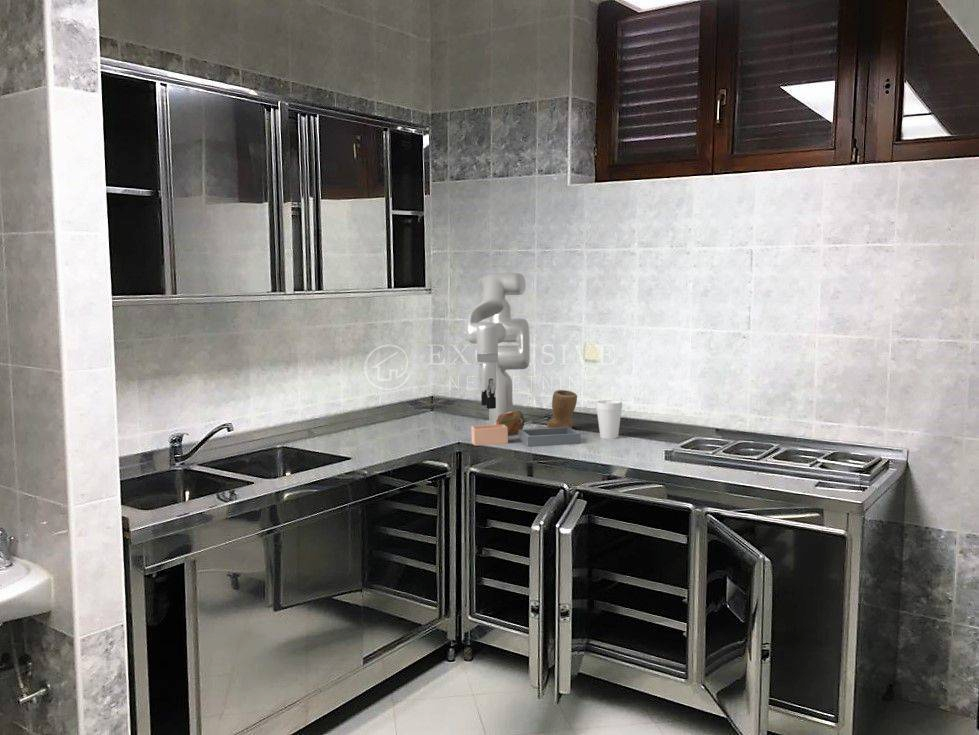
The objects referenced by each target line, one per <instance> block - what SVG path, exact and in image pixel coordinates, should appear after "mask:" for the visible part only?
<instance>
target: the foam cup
mask: <svg viewBox="0 0 979 735" xmlns="http://www.w3.org/2000/svg"><path fill="white" fill-rule="evenodd" d="M595 409H596V414H597V421H598V430H599V436H600V438H601V439H603V440H605V439H606V440H607V439H609V440H610V439H611V440H613V439H618V438H619V433H620V432H619V431H620V424H621V416H622V409H623V401H622V400H616V399H603V400H602V399H601V400H596V402H595Z"/></svg>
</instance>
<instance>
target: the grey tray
mask: <svg viewBox="0 0 979 735" xmlns="http://www.w3.org/2000/svg"><path fill="white" fill-rule="evenodd" d="M517 434H518V435H517V436H518V441H520V442H521V443H523V444H524V445H526V447H531V448H532V447H545V446H547V447H549V446H560V445H562V446H563V445H574V444H575V445H578V444H581V443H582V434H581V433H580V432H579V431H578V430H575V429H573V428H572V427H571V428H570V427H559V428H547V427H546V428H545V427H542V428H530V429H529V428H527V429H524V428H523V429H522V430H518V433H517Z"/></svg>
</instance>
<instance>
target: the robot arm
mask: <svg viewBox="0 0 979 735" xmlns="http://www.w3.org/2000/svg"><path fill="white" fill-rule="evenodd" d="M480 281H481V282H480V283H481V289H482V298H481V302H480V303H478V304H477V305H476V306H475V307H474V308H473V309H472V310H471V311H470V313H469V314H468V317H467V323H466V330H465V331H466V332H465V335H466V340H467V341H468V342H469V343H470V344H476V358H477V359H476V363H477V364H478V389H479V391H481V392H480V396H481V398H480V399H481V400H480V401H481V406H486V409H487V410H488V420H486V421H485V425H496V421H497V418H498V416H499V415H500V414H504V413H507V412H511V411H514V408H513V406H514V405H513V404H514V403H513V402H514V399H513V381H512V378H511V376H510V375H509V373H508V372H507V371H509V370H511V371H512V370H525V369H528V367H529V366H530V360H531V359H530V358H531V357H530V355H531V353H530V352H531V350H530V344H531V343H530V339H531V338H530V326H529V322H528V320H526V319H524V318H518V317H516V318H515V317H514V318H512V317H511V305H510V303H509V302H508V300H507V299H506V296H522V295H523V294H524V292H525V291H526V278H525V276H524V275H523V273H518V272H498V273H497V272H496V273H490V274H489V273H488V274H486V275H484V276H483V277H482V278H481V280H480ZM486 319H488V320H489V321H488V322H481V321H483V320H486ZM501 343H516V344H518V345H499V344H501Z"/></svg>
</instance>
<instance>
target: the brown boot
mask: <svg viewBox="0 0 979 735" xmlns="http://www.w3.org/2000/svg"><path fill="white" fill-rule="evenodd" d="M551 400H552V401H551V408H552V414H553V415H552V416H553V417H552V418H550V420H548V422H547V424H546V428H559V427H570V428H572V427H573V425H574V421H573V420H572V417H573V414H574V411H575V409H576V407H577V400H578V394H577V393H575V392H573V391H570V390H566V389H558V390H554V392H553V394H552V399H551Z"/></svg>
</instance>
